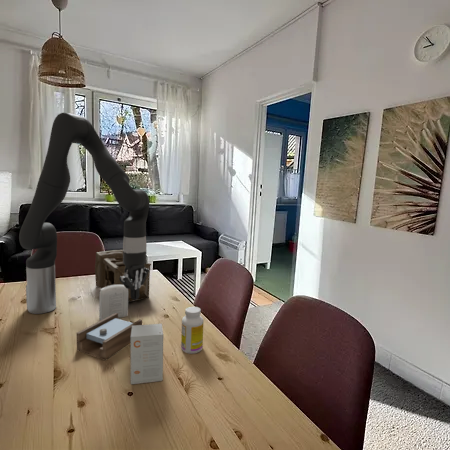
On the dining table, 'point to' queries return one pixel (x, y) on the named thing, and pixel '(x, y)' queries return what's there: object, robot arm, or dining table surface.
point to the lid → (107, 330)
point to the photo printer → (113, 301)
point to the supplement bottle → (192, 331)
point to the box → (110, 344)
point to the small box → (146, 353)
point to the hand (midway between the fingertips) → (135, 298)
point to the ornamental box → (116, 272)
